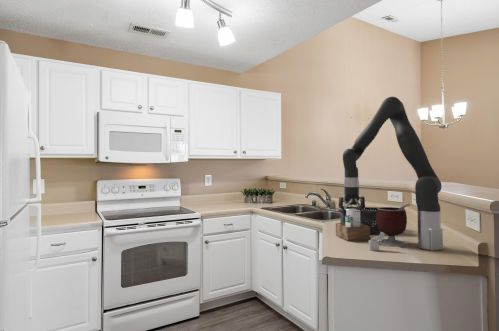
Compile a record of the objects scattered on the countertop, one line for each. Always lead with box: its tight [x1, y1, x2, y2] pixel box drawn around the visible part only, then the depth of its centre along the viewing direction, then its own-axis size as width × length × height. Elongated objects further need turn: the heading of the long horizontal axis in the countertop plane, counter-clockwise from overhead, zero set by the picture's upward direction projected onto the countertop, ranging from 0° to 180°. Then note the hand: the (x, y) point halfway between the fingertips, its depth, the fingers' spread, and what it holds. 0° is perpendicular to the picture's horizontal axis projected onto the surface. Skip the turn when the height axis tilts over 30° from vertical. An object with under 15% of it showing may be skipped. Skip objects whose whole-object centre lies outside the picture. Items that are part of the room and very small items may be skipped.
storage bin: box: [339, 206, 381, 235], centre depth 186 cm, size 29×19×13 cm
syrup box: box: [345, 209, 360, 227], centre depth 166 cm, size 6×6×14 cm
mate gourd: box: [375, 203, 411, 247], centre depth 153 cm, size 16×14×20 cm
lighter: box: [368, 232, 386, 251], centre depth 141 cm, size 7×2×8 cm, turn 92°
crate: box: [335, 222, 371, 242], centre depth 166 cm, size 13×13×7 cm
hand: (352, 216), depth 166 cm, fingers open, 8 cm apart
